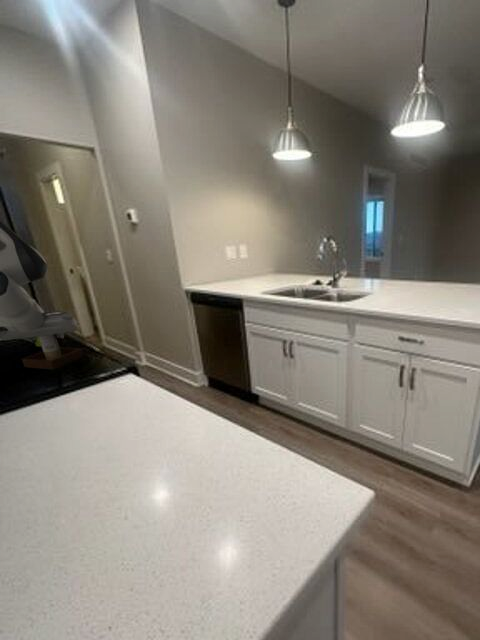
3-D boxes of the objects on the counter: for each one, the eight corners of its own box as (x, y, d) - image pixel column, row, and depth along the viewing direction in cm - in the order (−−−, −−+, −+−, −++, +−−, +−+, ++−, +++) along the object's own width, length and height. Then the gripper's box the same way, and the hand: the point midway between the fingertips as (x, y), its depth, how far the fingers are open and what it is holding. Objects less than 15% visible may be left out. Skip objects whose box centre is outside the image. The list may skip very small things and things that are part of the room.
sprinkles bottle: (65, 355, 114) (51, 316, 108) (59, 360, 109) (45, 320, 104) (49, 357, 113) (35, 318, 107) (43, 362, 109) (28, 321, 103)
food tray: (24, 367, 108) (21, 359, 107) (56, 354, 118) (54, 346, 117) (54, 369, 105) (51, 361, 104) (84, 356, 115) (82, 348, 114)
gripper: (66, 301, 101) (84, 325, 113) (-18, 310, 95) (11, 334, 107) (67, 320, 98) (85, 342, 111) (-19, 330, 93) (10, 352, 105)
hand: (48, 338), depth 109 cm, fingers open, 6 cm apart
